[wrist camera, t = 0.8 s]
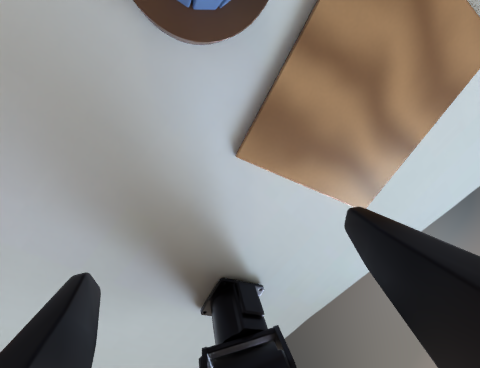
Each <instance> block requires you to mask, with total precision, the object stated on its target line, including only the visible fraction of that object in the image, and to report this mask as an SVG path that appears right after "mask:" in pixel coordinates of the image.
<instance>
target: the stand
mask: <svg viewBox="0 0 480 368" xmlns="http://www.w3.org/2000/svg"><path fill="white" fill-rule="evenodd" d="M133 1H134V2H135V3H136V5H137V6H138V7H139V8H140V9H141V11H142V12H143V13H144V14H145V15H146V17H147V18H148V19H149V20H150V21H151V22H152V23H153V24H154V25H155V26H157V27H158V28H159V29H160V30H161V31H163V32H164V33H166V34H167V35H169V36H171V37H173V38H175V39H177V40H179V41H182V42H185V43H189V44H194V45H207V44H213V43H217V42H220V41H223V40H226V39H229V38H231V37H233V36H235V35H237V34H239V33H240V32H242V31H243V30H245V29H246V28H247V27H248V26H249V25H251V24H252V23H253V21H254V20H255V19H256V18H257V17H258V16H259V14H260V13H261V12H262V10H263V9H264V7H265V6H266V4H267V2H268V0H231V1H229V2H228V3H227V4H225V5H224V6H223V7H221V8H220V7H219V6H218V7H217V9H215V10H195V9H193V5H192V1H191V4H190V6H189V7H186V6H185V5H183V4H182V3H180V2H179V1H177V0H133Z"/></svg>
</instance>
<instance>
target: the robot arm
mask: <svg viewBox="0 0 480 368" xmlns="http://www.w3.org/2000/svg"><path fill="white" fill-rule="evenodd" d="M345 230H346V232H347V234H348V236H349V237H350V239H351V241H352V243H353V244H354V246H355V248H356V250H357V252H358V253H359V255H360V257H361V259H362V260H363V262H364V264H365V265H366V267H367V268H368V270H369V271H370V273H371V274H372V276H373V277H374V278H375V280H376V281H377V282H378V284H379V285H380V287H381V288H382V290H383V291H384V292H385V294H386V295H387V297H388V298H389V299H390V301H391V302H392V303H393V305H394V307H395V308H396V309H397V311H398V312H399V313H400V315H401V316H402V318H403V319H404V321H405V322H406V323H407V325H408V326H409V328H410V329H411V330H412V332H413V333H414V335H415V336H416V337H417V339H418V340H419V342H420V343H421V345H422V346H423V347H424V349H425V350H426V352H427V353H428V354H429V356H430V357H431V359H432V360H433V361H434V363H435V364H436V366H437V367H438V368H480V256H478V255H475V254H472V253H470V252H468V251H465V250H463V249H461V248H458V247H456V246H453V245H451V244H449V243H446V242H444V241H442V240H439V239H437V238H435V237H432V236H430V235H427V234H425V233H423V232H420V231H418V230H415V229H413V228H411V227H408V226H406V225H403V224H401V223H399V222H396V221H394V220H392V219H389V218H387V217H384V216H382V215H380V214H377V213H375V212H372V211H370V210H368V209H365V208H363V207H360V206H358V207H353V208H350V209H348V211H347V215H346V220H345ZM263 291H264V287H263V285H259V284H253V283H248V282H243V281H237V280H232V279H226V278H222V279H220V280H219V282H218V283H217V285H216V286H215V288H214V290H213V291H212V293H211V294H210V296H209V297H208V299H207V301H206V302H205V304H204V305H203V307H202V309H201V314H202V315H208V316H212V321H213V329H214V337H215V344H216V345H214V346H211V347H208V348H207V347H204V348H202V356H201V357H200V358H199V368H296V365H295V362H294V359H293V357H292V355H291V353H290V351H289V348H288V346H287V344H286V342H285V339H284V337H283V335H282V333H281V331H280V328H279V326H278V325H277V326H273V328H270V329H268V328H267V325H266V322H265V319H264V311H263V308H262V305H261V302H260V299H259V296H260V295H261V293H262V292H263ZM100 296H101V291H100V287H99V286H98V284H97V283H96V282H95V280H94V279H93V277H92V276H91V275H90V274H89V273H81V274H77V275H74V276H72V277H71V278H70V279H69V280H68V281H67V282H66V283H65V284H64V285H63V286H62V287H61V288H60V290H59V291H58V292H57V293H56V294H55V295H54V296H53V297H52V298H51V299H50V300H49V301H48V302H47V303H46V304H45V306H44V307H43V308H42V309H41V310H40V311H39V312H38V313H37V314H36V315H35V316H34V317H33V318H32V319H31V320H30V322H29V323H28V324H27V325H26V326H25V327H24V328H23V329H22V330H21V331H20V332H19V333H18V334H17V335H16V336H15V338H14V339H13V340H12V341H11V342H10V343H9V344H8V345H7V346H6V347H5V348H4V349H3V350H2V351H1V352H0V368H91V367H92V362H93V357H94V352H95V346H96V339H97V330H98V318H99V307H100Z"/></svg>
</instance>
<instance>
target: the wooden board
mask: <svg viewBox="0 0 480 368" xmlns="http://www.w3.org/2000/svg"><path fill="white" fill-rule="evenodd" d="M479 69H480V17H479V16H478V15H477V13H476V12H475V11H474V9H473V8H472V7H471V5H470V4H469V2H468V1H467V0H318V1H317V3H316V5H315V7H314V8H313V10H312V12H311V14H310V16H309V18H308V20H307V22H306V23H305V25H304V27H303V29H302V31H301V33H300V35H299V37H298V39H297V40H296V42H295V44H294V46H293V48H292V50H291V52H290V54H289V56H288V57H287V59H286V61H285V63H284V65H283V67H282V69H281V71H280V72H279V74H278V76H277V78H276V80H275V82H274V84H273V86H272V88H271V89H270V91H269V93H268V95H267V97H266V99H265V101H264V103H263V104H262V106H261V108H260V110H259V112H258V114H257V116H256V118H255V120H254V121H253V123H252V125H251V127H250V129H249V131H248V133H247V135H246V137H245V138H244V140H243V142H242V144H241V146H240V148H239V150H238V152H237V153H236V157H237V158H240V159H242V160H245V161H247V162H249V163H252V164H254V165H256V166H259V167H261V168H263V169H266V170H268V171H270V172H273V173H275V174H277V175H280V176H282V177H284V178H287V179H289V180H291V181H294V182H296V183H298V184H301V185H303V186H305V187H308V188H310V189H312V190H315V191H317V192H319V193H322V194H324V195H326V196H329V197H331V198H333V199H336V200H338V201H340V202H343V203H345V204H347V205H350V206H352V207H358V206H360V207H363V208H365V209H366V208H367V207H368V205H369V204H370V203H371V202H372V201H373V199H374V198H375V197H376V196H377V194H378V193H379V192H380V191H381V190H382V188H383V187H384V186H385V185H386V183H387V182H388V181H389V180H390V178H391V177H392V176H393V175H394V174H395V172H396V171H397V170H398V169H399V167H400V166H401V165H402V164H403V162H404V161H405V160H406V159H407V158H408V156H409V155H410V154H411V153H412V151H413V150H414V149H415V148H416V146H417V145H418V144H419V143H420V142H421V140H422V139H423V138H424V137H425V135H426V134H427V133H428V132H429V130H430V129H431V128H432V127H433V126H434V124H435V123H436V122H437V121H438V119H439V118H440V117H441V116H442V114H443V113H444V112H445V111H446V110H447V108H448V107H449V106H450V105H451V103H452V102H453V101H454V100H455V99H456V97H457V96H458V95H459V94H460V92H461V91H462V90H463V89H464V87H465V86H466V85H467V84H468V83H469V81H470V80H471V79H472V78H473V76H474V75H475V74H476V73H477V71H478V70H479Z"/></svg>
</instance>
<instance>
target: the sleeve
mask: <svg viewBox="0 0 480 368" xmlns="http://www.w3.org/2000/svg"><path fill="white" fill-rule="evenodd" d="M177 1H179V2H180V3H182V4H183V5H185V6H186V7H189V6H190V4H191V1H192V5H193V9H195V10H215V9H217V7H218V6H219V7H220V8H221V7H223V6H224V5H225V4H227V3H228V2H229V1H231V0H177Z"/></svg>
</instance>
